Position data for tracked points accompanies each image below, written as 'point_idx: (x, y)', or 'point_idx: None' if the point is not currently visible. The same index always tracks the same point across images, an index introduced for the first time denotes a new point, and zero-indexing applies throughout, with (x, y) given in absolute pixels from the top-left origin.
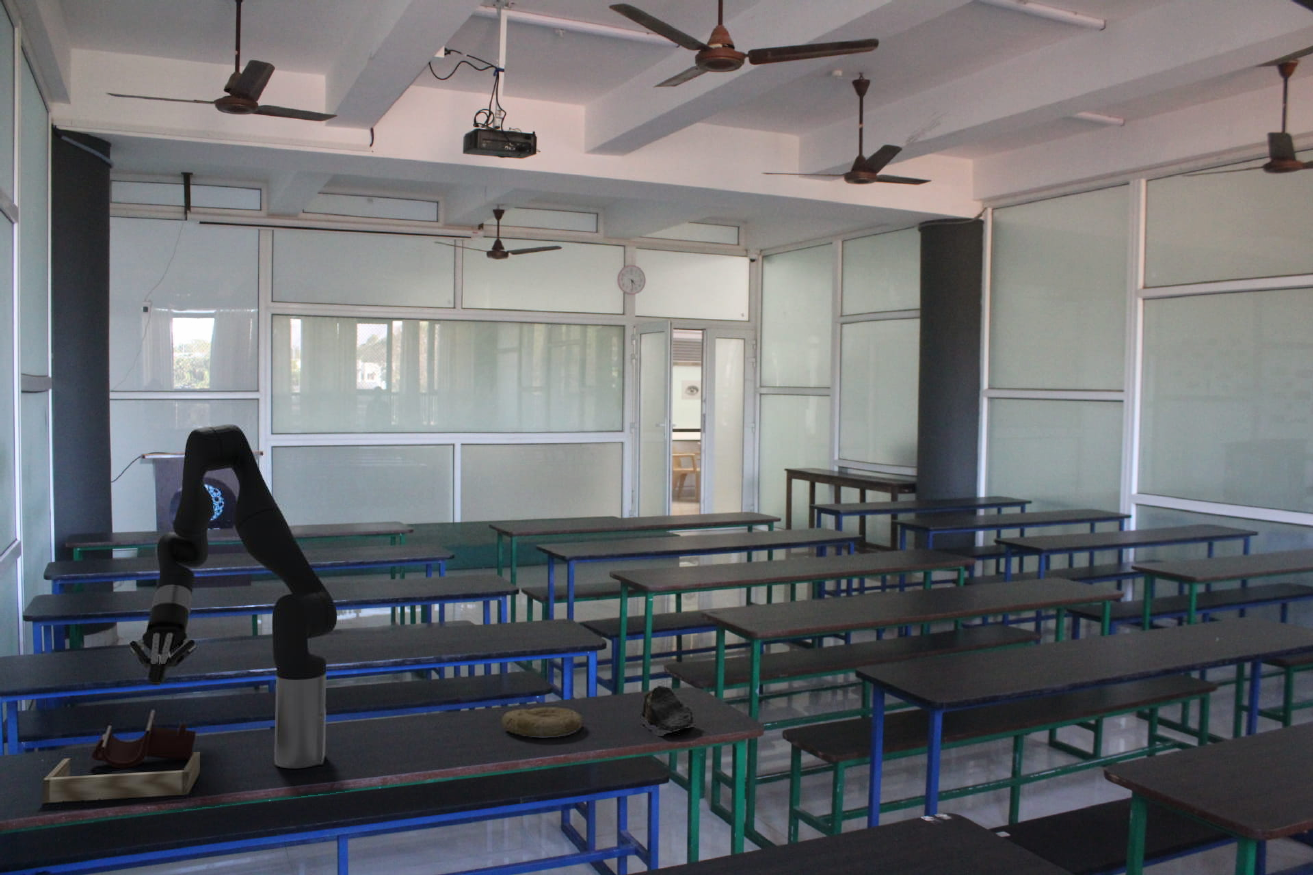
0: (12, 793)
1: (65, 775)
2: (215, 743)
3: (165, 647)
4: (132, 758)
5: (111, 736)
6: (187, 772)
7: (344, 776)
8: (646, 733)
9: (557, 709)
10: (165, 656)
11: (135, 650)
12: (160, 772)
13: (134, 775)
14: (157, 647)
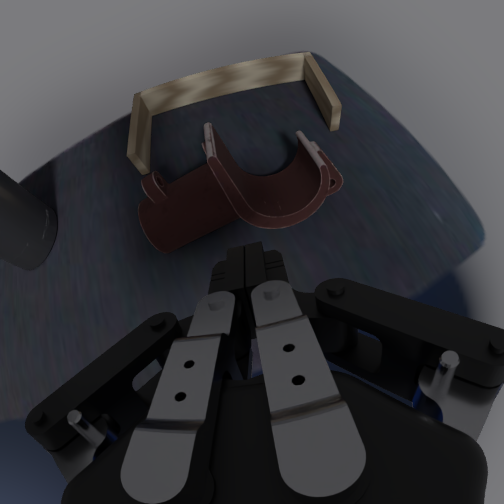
0: (370, 95)
1: (324, 106)
2: None
3: (198, 362)
4: (258, 179)
5: (317, 180)
6: (135, 94)
7: None
8: None
9: None
10: (202, 325)
11: (437, 311)
12: (167, 85)
13: (198, 73)
14: (267, 350)
